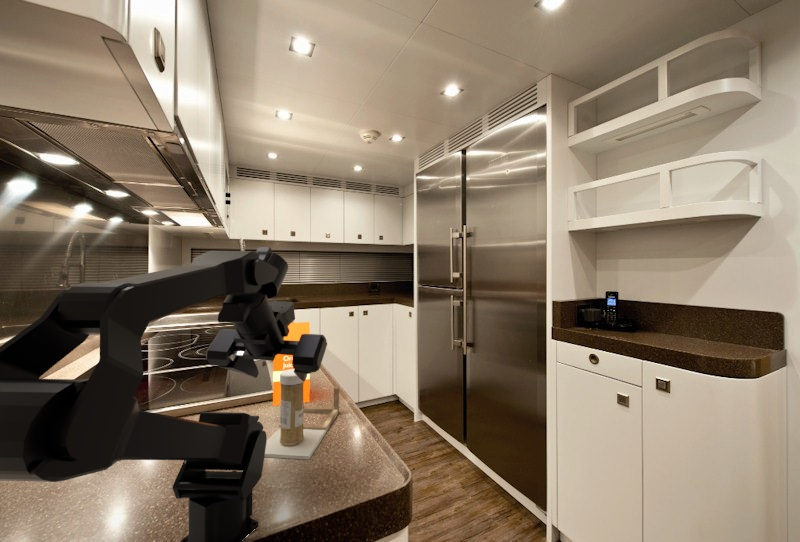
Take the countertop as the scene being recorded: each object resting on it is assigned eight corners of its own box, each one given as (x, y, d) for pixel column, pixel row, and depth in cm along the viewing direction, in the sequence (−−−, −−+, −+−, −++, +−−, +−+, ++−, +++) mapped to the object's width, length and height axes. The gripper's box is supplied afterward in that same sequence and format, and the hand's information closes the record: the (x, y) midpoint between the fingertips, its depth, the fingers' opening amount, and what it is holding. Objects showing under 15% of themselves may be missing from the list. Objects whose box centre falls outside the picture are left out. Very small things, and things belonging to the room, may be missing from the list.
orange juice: (276, 394, 88) (276, 321, 88) (310, 391, 91) (310, 319, 91) (272, 406, 81) (273, 325, 81) (309, 402, 83) (309, 324, 83)
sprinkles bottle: (306, 442, 63) (307, 372, 63) (282, 449, 60) (283, 376, 60) (300, 432, 66) (301, 366, 66) (276, 438, 64) (277, 370, 64)
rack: (325, 432, 68) (325, 404, 68) (279, 430, 68) (279, 402, 68) (338, 412, 78) (339, 387, 78) (298, 410, 78) (298, 385, 78)
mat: (309, 459, 58) (309, 456, 58) (255, 456, 59) (255, 453, 59) (326, 431, 68) (326, 429, 68) (280, 429, 69) (280, 426, 69)
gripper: (327, 287, 55) (340, 344, 65) (223, 282, 57) (251, 339, 67) (307, 340, 47) (325, 396, 57) (185, 332, 48) (224, 388, 58)
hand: (280, 377), depth 60 cm, fingers open, 9 cm apart
